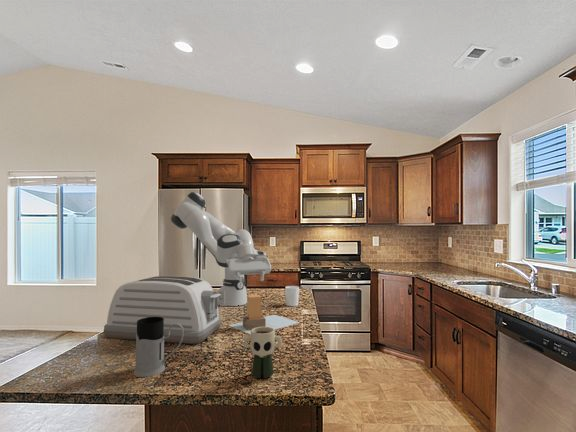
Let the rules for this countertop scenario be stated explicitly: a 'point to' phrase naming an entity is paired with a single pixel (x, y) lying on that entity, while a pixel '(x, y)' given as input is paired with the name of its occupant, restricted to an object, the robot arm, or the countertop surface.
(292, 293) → the white cup
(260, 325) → the walnut plinth
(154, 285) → the toaster
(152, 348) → the glass holder
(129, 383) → the countertop surface
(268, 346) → the character mug
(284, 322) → the board
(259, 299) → the orange block
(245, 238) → the robot arm
